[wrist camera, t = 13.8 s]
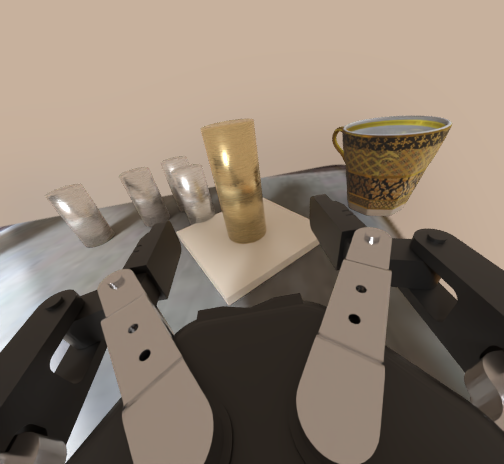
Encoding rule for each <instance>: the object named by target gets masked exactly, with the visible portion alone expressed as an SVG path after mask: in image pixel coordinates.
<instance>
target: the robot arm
mask: <svg viewBox="0 0 504 464" xmlns="http://www.w3.org/2000/svg"><path fill="white" fill-rule="evenodd" d="M310 227H311V230H312V232H313V233H314V235H315V236H316V238H317V240H318V241H319V243H320V245H321V246H322V248H323V250H324V251H325V253H326V255H327V256H328V258H329V259H330V261H331V263H332V264H333V266H334V268H335V269H336V270H340V271H339V274H338V277H337V280H336V283H335V286H334V289H333V292H332V295H331V297H330V300H329V303H328V306H327V307H325V306H323V305H320V304H317V303H313V302H308V301H302V298H301V295H300V293H298V294H292V295H286V296H280V297H275V298H272V299H270V300H268V301H265V302H263V303H260V304H258V305H256V306H253V307H251V308H240V307H224V306H223V307H217V308H211V309H205V310H200V311H198V315H197V320H195V321H193V322H191V323H189V324H187V325H186V326H184V327H183V328H182V329H180V330H179V331H178V332H177V333H176V334H174V333H173V331H172V329H171V328H170V326H169V325H168V323H167V321H166V320H165V318H164V317H163V315H162V313H161V312H160V310H159V309H158V307H157V306H156V305H157V302H158V301H159V300H165V299H168V296H169V292H170V289H171V285H172V282H173V279H174V275H175V272H176V268H177V265H178V261H179V258H180V255H181V244H180V241H179V239H178V237H177V235H176V233H175V230H174V228H173V226H172V224H171V222H170V221H165V222H159V223H155V224H154V225H153V227H152V229H151V230H150V232H149V233H147V234H146V235H145V236H144V237H142V238H141V239H140V241H139V242H138V244H137V246H136V247H135V249H134V251H133V253H132V254H131V256H130V257H129V259H128V261H127V262H126V264H125V266H124V267H123V269H122V270H118V271H116V272H114V273H112V274H110V275H109V276H107V277H106V278H105V279H104V280H103V281H102V282H101V283H100V284H99V286H98V289H97V290H95V291H93V292H90V293H88V294H85V295H82V296H79V295H78V294H77V293H76V292H75V291H74V290H65V291H61V292H59V293H57V294H55V295H53V296H51V297H50V298H48V299H47V300H45V301H44V302H43V303H42V304H41V305H40V306H39V307H38V308H37V309H36V310H35V311H34V313H33V314H32V315H31V316H30V317H29V319H28V320H27V321H26V322H25V323H24V325H23V326H22V327H21V328H20V329H19V331H18V332H17V333H16V334H15V336H14V337H13V338H12V339H11V340H10V342H9V343H8V344H7V345H6V346H5V348H4V349H3V350H2V351H1V352H0V464H504V270H502V269H500V268H499V267H498V266H496V265H495V264H493V263H492V262H490V261H489V260H488V259H486V258H485V257H483V256H482V255H480V254H479V253H477V252H476V251H475V250H473V249H471V248H470V247H469V246H467V245H466V244H465V243H463V242H462V241H460V240H459V239H457V238H456V237H454V236H453V235H451V234H449V233H447V232H444V231H441V230H435V229H420V230H417V231H416V232H415V233H414V236H413V238H412V239H395V238H391V236H390V235H389V234H388V233H387V232H385V231H383V230H381V229H378V228H372V227H367V226H366V225H365V224H363V223H362V222H361V221H360V220H359V219H358V218H357V217H356V216H355V215H353V213H352V212H351V211H349V209H348V208H347V207H346V206H345V205H344V204H341V203H339V202H337V201H332V200H331V199H330V198H329V197H328V196H327V195H326V194H322V195H317V196H312V197H311V198H310ZM441 278H442V279H443V280H444V281H445V282H447V284H449V285H450V286H451V287H452V288H453V289H454V291H455V292H456V295H457V299H458V300H456V299H455V298H454V297H453V296H452V295H451V294H450V293H449V292H448V291H447V290H446V289H445V288H444V287H443V286H442V285H441V284H440V283H439V280H440V279H441ZM390 286H391V287H398V288H399V289H400V291H401V292H402V293H403V294H404V296H405V297H406V298H407V299H408V301H409V302H410V303H411V305H412V306H413V307H414V308H415V310H416V311H417V312H418V313H419V315H420V316H421V317H422V319H423V320H424V321H425V322H426V324H427V325H428V326H429V327H430V329H431V330H432V331H433V333H434V334H435V335H436V336H437V338H438V339H439V340H440V341H441V343H442V344H443V345H444V346H445V348H446V349H447V350H448V352H449V353H450V354H451V355H452V357H453V358H454V359H455V360H456V362H457V363H458V364H459V366H460V367H461V368H462V369H463V371H464V372H465V375H464V382H465V386H466V388H467V391H468V392H469V394H470V401H471V403H470V402H469V401H467V400H466V399H465V398H463V397H462V396H460V395H459V394H457V393H456V392H454V391H453V390H451V389H450V388H448V387H447V386H445V385H444V384H442V383H441V382H439V381H438V380H436V379H435V378H433V377H432V376H430V375H429V374H427V373H426V372H424V371H423V370H421V369H420V368H418V367H417V366H415V365H414V364H412V363H411V362H409V361H408V360H406V359H405V358H403V357H402V356H400V355H399V354H397V353H396V352H394V351H393V350H391V349H390V348H388V347H387V346H385V338H386V328H387V317H388V307H389V296H390ZM62 339H63V340H65V341H66V342H68V343H69V344H70V346H69V348H68V350H67V352H66V353H65V355H64V357H63V359H62V360H61V362H60V364H59V366H58V367H57V369H56V371H55V373H53V372H52V371H51V369H50V360H51V357H52V356H53V354H54V352H55V351H56V349H57V348H58V346H59V344H60V343H61V341H62ZM107 347H108V351H109V354H110V358H111V361H112V365H113V368H114V372H115V375H116V379H117V382H118V386H119V389H120V393H121V396H122V397H121V398H120V399H119V400H118V402H117V403H116V404H115V405H114V406H113V408H112V409H111V410H110V411H109V412H108V414H107V415H106V416H105V417H104V418H103V419H102V421H101V422H100V423H99V424H98V425H97V427H96V428H95V429H94V430H93V431H92V433H91V434H90V435H89V436H88V437H87V438H86V440H85V441H84V442H83V443H82V444H81V446H80V447H79V448H78V449H77V450H76V452H75V453H74V454H73V455H72V456H71V457H70V459H69V460H68V461H67V462H66V463H65V461H66V456H67V449H66V444H67V441H68V439H69V437H70V434H71V432H72V430H73V427H74V425H75V422H76V420H77V418H78V415H79V413H80V411H81V408H82V406H83V403H84V401H85V399H86V396H87V394H88V391H89V389H90V387H91V384H92V382H93V380H94V377H95V375H96V372H97V370H98V368H99V365H100V363H101V361H102V358H103V356H104V353H105V351H106V349H107Z"/></svg>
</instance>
